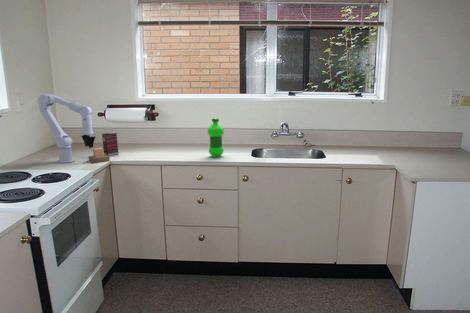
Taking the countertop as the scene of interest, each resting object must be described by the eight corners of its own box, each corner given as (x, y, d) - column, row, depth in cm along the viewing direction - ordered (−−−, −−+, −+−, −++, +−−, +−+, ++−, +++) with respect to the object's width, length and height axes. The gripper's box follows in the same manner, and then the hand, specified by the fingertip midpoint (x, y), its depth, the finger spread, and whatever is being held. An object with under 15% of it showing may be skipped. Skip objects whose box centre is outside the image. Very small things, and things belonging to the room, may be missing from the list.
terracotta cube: (93, 156, 249) (92, 148, 248) (101, 155, 252) (100, 147, 251) (95, 157, 245) (95, 149, 244) (103, 156, 248) (103, 148, 247)
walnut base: (88, 160, 250) (88, 156, 249) (104, 158, 256) (104, 154, 255) (93, 163, 242) (93, 158, 241) (109, 161, 248) (109, 156, 247)
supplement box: (115, 154, 270) (113, 132, 267) (118, 155, 267) (116, 132, 264) (103, 156, 264) (101, 133, 261) (106, 157, 261) (105, 133, 258)
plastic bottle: (206, 157, 254) (204, 119, 249) (212, 154, 264) (211, 117, 259) (220, 158, 251) (219, 119, 246) (226, 155, 260) (225, 118, 256)
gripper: (97, 125, 240) (99, 147, 242) (90, 124, 251) (91, 144, 254) (85, 126, 236) (87, 148, 238) (78, 125, 247) (80, 146, 250)
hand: (89, 146), depth 246 cm, fingers open, 7 cm apart
